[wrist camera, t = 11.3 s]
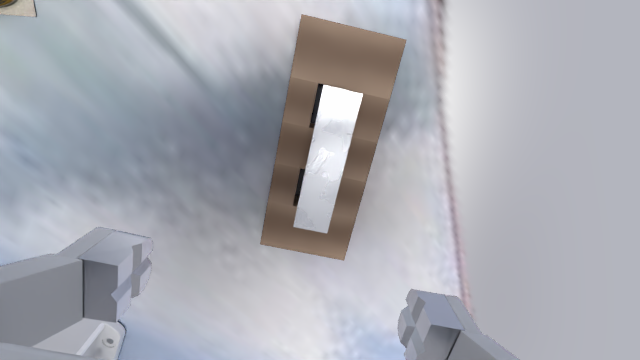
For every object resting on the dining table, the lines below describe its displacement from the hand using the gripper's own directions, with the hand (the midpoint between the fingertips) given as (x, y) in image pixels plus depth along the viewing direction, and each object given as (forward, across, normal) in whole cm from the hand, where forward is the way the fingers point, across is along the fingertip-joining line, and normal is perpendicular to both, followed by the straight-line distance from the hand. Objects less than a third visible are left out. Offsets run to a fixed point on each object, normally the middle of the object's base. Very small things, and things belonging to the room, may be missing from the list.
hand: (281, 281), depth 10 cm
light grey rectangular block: (+24, +2, 0) cm, 24 cm away
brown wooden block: (+24, +2, 0) cm, 24 cm away
